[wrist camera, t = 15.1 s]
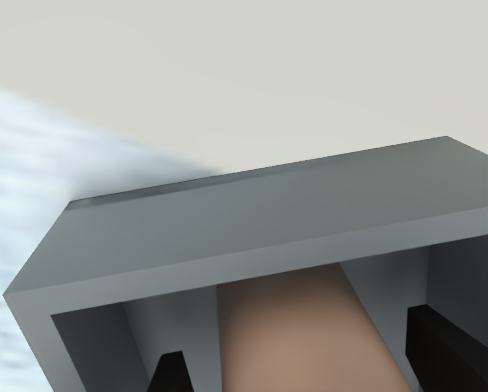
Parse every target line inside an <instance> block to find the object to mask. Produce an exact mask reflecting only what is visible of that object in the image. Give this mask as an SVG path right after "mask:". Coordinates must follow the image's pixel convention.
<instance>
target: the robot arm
mask: <svg viewBox="0 0 488 392" xmlns="http://www.w3.org/2000/svg"><path fill="white" fill-rule="evenodd" d="M405 355H406V357H407V359H408V361H409V363H410V366H411V368H412V370H413V372H414V374H415V376H416V378H417V380H418V382H419V384H420V386H421V388H422V389H423V391H424V392H488V347H486V346H485V345H483V344H482V343H481V342H479V341H478V340H476V339H475V338H473V337H472V336H470V335H469V334H468V333H466V332H465V331H463V330H462V329H461V328H459V327H458V326H456V325H455V324H454V323H452V322H451V321H449V320H448V319H447V318H445V317H444V316H442V315H441V314H440V313H438V312H437V311H435V310H434V309H433V308H431V307H430V306H428V305H427V304H424V305H418V306H413V307H408V309H407V327H406V346H405ZM146 392H194V389H193V386H192V382H191V379H190V376H189V372H188V369H187V365H186V362H185V359H184V355H183V352H182V350H181V351H176V352H171V353H165V354H162V355H161V357H160V358H159V361H158V364H157V367H156V369H155V372H154V374H153V377H152V379H151V382H150V384H149V386H148V389H147V391H146Z"/></svg>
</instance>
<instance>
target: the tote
mask: <svg viewBox="0 0 488 392" xmlns="http://www.w3.org/2000/svg"><path fill="white" fill-rule="evenodd" d="M335 262H339V264H340V265H341V267H342V269H343V271H344V272H345V274H346V276H347V278H348V279H349V281H350V283H351V284H352V286H353V288H354V290H355V291H356V293H357V295H358V297H359V298H360V300H361V302H362V304H363V305H364V307H365V309H366V310H367V312H368V314H369V316H370V317H371V319H372V321H373V323H374V324H375V326H376V328H377V330H378V331H379V333H380V335H381V336H382V338H383V340H384V342H385V343H386V345H387V347H388V349H389V350H390V352H391V354H392V356H393V357H394V359H395V361H396V363H397V364H398V366H399V368H400V369H401V371H402V373H403V375H404V376H405V378H406V380H407V382H408V383H409V385H410V387H411V389H412V390H413V392H424V391H423V389H422V388H421V386H420V384H419V382H418V380H417V378H416V376H415V374H414V372H413V370H412V368H411V366H410V363H409V361H408V359H407V357H406V355H405V346H406V327H407V309H408V307H413V306H418V305H424V304H427V305H428V306H430V307H431V308H433V309H434V310H435V311H437V312H438V313H440V314H441V315H442V316H444V317H445V318H447V319H448V320H449V321H451V322H452V323H454V324H455V325H456V326H458V327H459V328H461V329H462V330H463V331H465V332H466V333H468V334H469V335H470V336H472V337H473V338H475V339H476V340H478V341H479V342H481V343H482V344H483V345H485V346H486V347H488V155H487V154H485V153H483V152H480V151H478V150H476V149H474V148H472V147H470V146H468V145H465V144H463V143H461V142H459V141H457V140H455V139H453V138H450V137H448V136H443V137H437V138H431V139H426V140H420V141H414V142H409V143H403V144H397V145H391V146H386V147H381V148H374V149H368V150H363V151H357V152H351V153H346V154H340V155H334V156H328V157H323V158H317V159H311V160H305V161H300V162H294V163H288V164H283V165H277V166H272V167H265V168H260V169H254V170H249V171H242V172H237V173H231V174H225V175H220V176H214V177H208V178H202V179H197V180H191V181H185V182H179V183H174V184H168V185H162V186H157V187H151V188H145V189H139V190H134V191H128V192H122V193H116V194H111V195H105V196H99V197H94V198H88V199H82V200H76V201H71V202H69V204H68V205H67V206H66V208H65V209H64V211H63V212H62V213H61V215H60V216H59V218H58V219H57V220H56V222H55V223H54V224H53V226H52V227H51V229H50V230H49V231H48V233H47V234H46V236H45V237H44V238H43V240H42V241H41V242H40V244H39V245H38V247H37V248H36V249H35V251H34V252H33V253H32V255H31V256H30V258H29V259H28V260H27V262H26V263H25V265H24V266H23V267H22V269H21V270H20V271H19V273H18V274H17V276H16V277H15V278H14V280H13V281H12V282H11V284H10V285H9V287H8V288H7V289H6V291H5V292H4V294H3V297H4V299H5V301H6V303H7V305H8V306H9V308H10V310H11V312H12V314H13V316H14V318H15V320H16V321H17V323H18V325H19V327H20V329H21V331H22V333H23V335H24V336H25V338H26V340H27V342H28V344H29V346H30V348H31V350H32V352H33V353H34V355H35V357H36V359H37V361H38V363H39V365H40V367H41V368H42V370H43V372H44V374H45V376H46V378H47V380H48V382H49V383H50V385H51V387H52V389H53V391H54V392H146V391H147V389H148V386H149V384H150V382H151V379H152V377H153V374H154V372H155V369H156V367H157V364H158V361H159V358H160V357H161V355H162V354H165V353H171V352H176V351H181V350H182V352H183V355H184V359H185V362H186V365H187V369H188V372H189V376H190V379H191V382H192V386H193V389H194V392H222V383H221V366H220V349H219V333H218V316H217V299H216V288H217V284H221V283H226V282H232V281H237V280H242V279H248V278H253V277H259V276H264V275H270V274H275V273H280V272H286V271H291V270H297V269H302V268H308V267H313V266H318V265H324V264H329V263H335Z"/></svg>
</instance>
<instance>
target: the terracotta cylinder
mask: <svg viewBox="0 0 488 392" xmlns="http://www.w3.org/2000/svg"><path fill="white" fill-rule="evenodd" d="M216 299H217V316H218V333H219V349H220V366H221V383H222V392H413V390H412V389H411V387H410V385H409V383H408V382H407V380H406V378H405V376H404V375H403V373H402V371H401V369H400V368H399V366H398V364H397V363H396V361H395V359H394V357H393V356H392V354H391V352H390V350H389V349H388V347H387V345H386V343H385V342H384V340H383V338H382V336H381V335H380V333H379V331H378V330H377V328H376V326H375V324H374V323H373V321H372V319H371V317H370V316H369V314H368V312H367V310H366V309H365V307H364V305H363V304H362V302H361V300H360V298H359V297H358V295H357V293H356V291H355V290H354V288H353V286H352V284H351V283H350V281H349V279H348V278H347V276H346V274H345V272H344V271H343V269H342V267H341V265H340V264H339V262H335V263H329V264H324V265H318V266H313V267H308V268H302V269H297V270H291V271H286V272H280V273H275V274H270V275H264V276H259V277H253V278H248V279H242V280H237V281H232V282H226V283H221V284H217V288H216Z"/></svg>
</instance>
